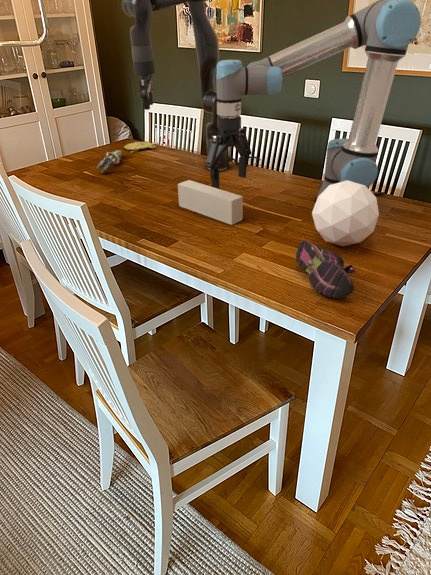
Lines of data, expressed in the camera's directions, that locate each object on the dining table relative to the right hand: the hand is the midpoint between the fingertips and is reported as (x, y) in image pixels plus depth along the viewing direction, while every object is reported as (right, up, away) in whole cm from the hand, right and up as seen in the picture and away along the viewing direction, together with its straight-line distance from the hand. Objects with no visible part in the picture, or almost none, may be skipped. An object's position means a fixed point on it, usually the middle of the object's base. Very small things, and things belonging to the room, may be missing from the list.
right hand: (229, 182), depth 149 cm
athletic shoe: (+26, -34, -29) cm, 52 cm away
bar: (-7, -8, +13) cm, 17 cm away
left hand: (-30, +33, +19) cm, 48 cm away
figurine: (-55, +24, +66) cm, 89 cm away
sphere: (+35, -21, -9) cm, 42 cm away
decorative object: (-45, +40, +91) cm, 109 cm away
